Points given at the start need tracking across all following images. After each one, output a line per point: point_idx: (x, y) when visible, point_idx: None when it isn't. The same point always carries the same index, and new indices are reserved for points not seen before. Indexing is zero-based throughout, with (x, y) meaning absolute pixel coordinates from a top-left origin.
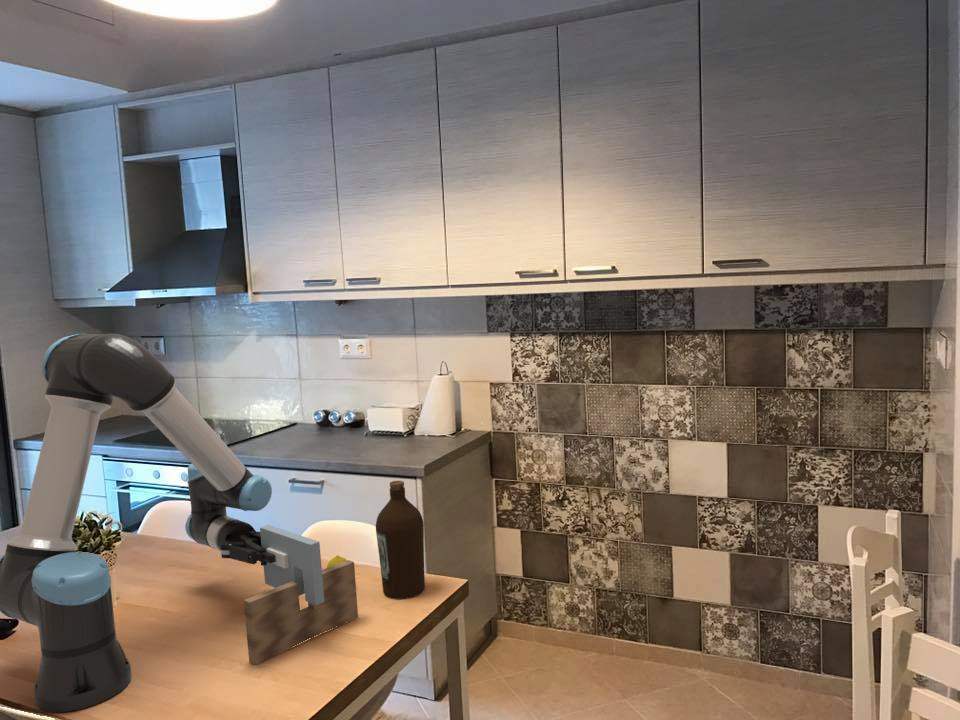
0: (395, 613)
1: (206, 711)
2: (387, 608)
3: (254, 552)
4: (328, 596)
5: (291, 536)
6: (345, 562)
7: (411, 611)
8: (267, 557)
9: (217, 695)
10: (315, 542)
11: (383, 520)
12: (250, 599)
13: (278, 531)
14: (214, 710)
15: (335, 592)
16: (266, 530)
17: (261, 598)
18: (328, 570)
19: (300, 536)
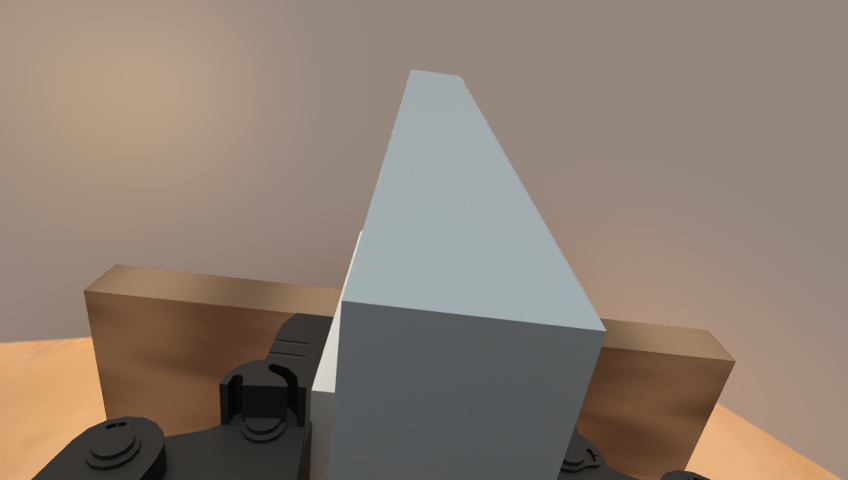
0: (84, 400)
1: (779, 441)
2: (31, 443)
3: (677, 476)
4: None
5: (454, 102)
6: (129, 284)
7: (60, 371)
8: None
9: (755, 476)
10: (428, 72)
11: None
12: (701, 344)
13: (458, 143)
14: (757, 430)
15: None
16: (535, 225)
17: (649, 325)
18: (263, 289)
19: (417, 89)
